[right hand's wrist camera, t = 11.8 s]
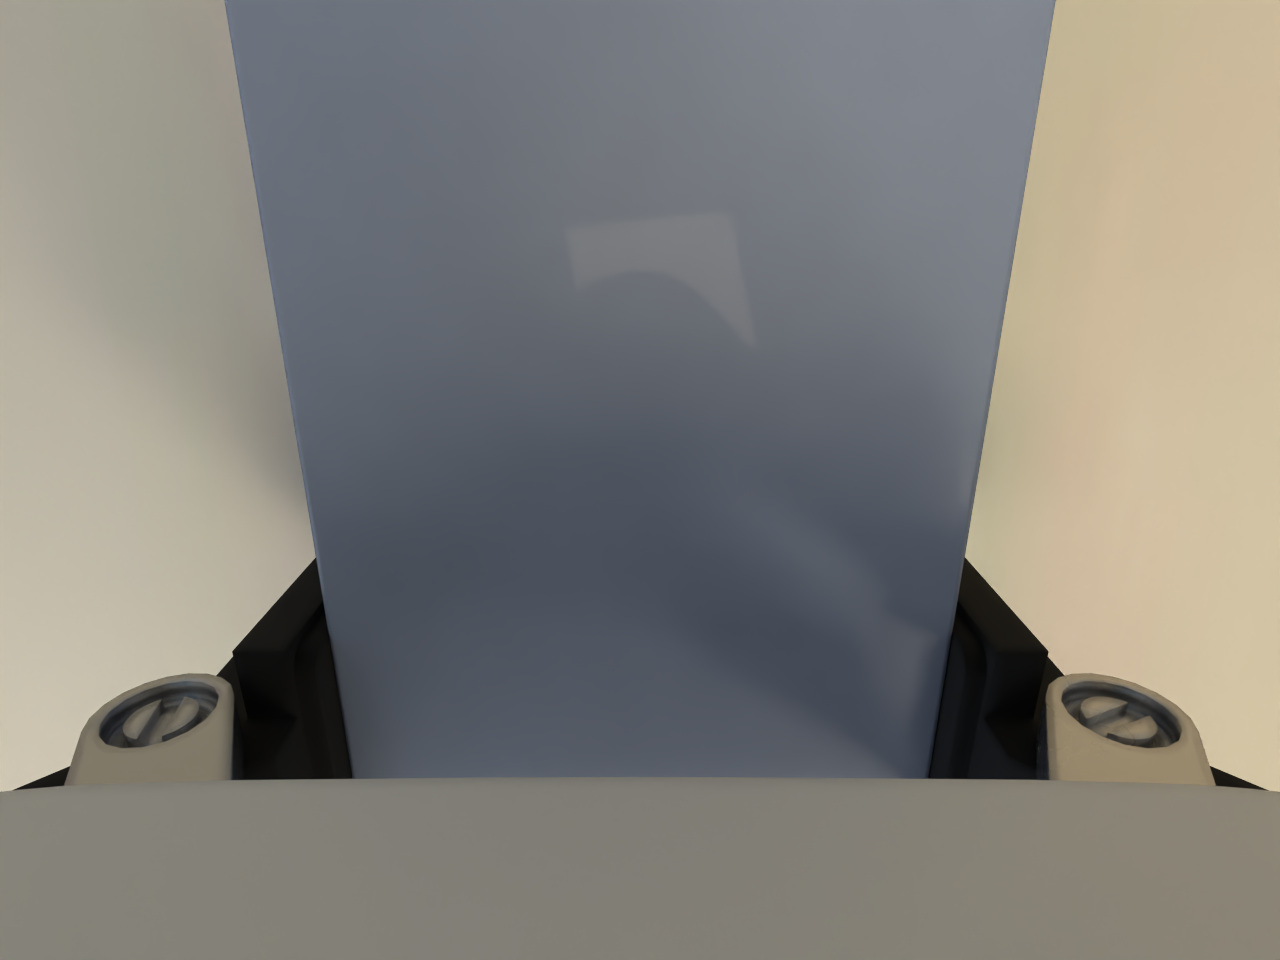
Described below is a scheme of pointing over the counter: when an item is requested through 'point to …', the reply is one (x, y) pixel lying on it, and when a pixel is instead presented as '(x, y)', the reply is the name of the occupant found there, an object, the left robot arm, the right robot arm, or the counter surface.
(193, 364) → the counter surface
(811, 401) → the blue-grey slab
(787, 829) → the right robot arm
